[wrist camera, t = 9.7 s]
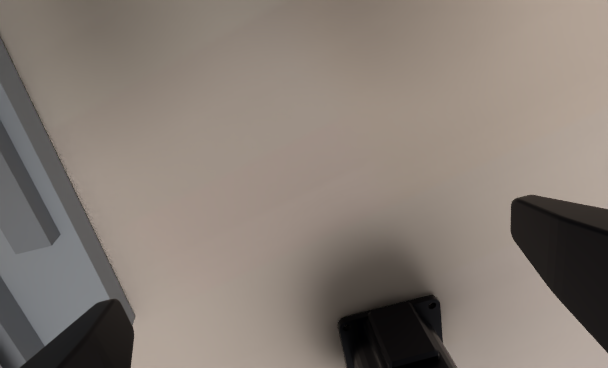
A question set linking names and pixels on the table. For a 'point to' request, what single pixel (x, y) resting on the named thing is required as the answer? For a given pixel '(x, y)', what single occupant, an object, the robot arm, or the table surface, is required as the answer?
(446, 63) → the table surface
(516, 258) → the table surface
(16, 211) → the grey stepped stand
